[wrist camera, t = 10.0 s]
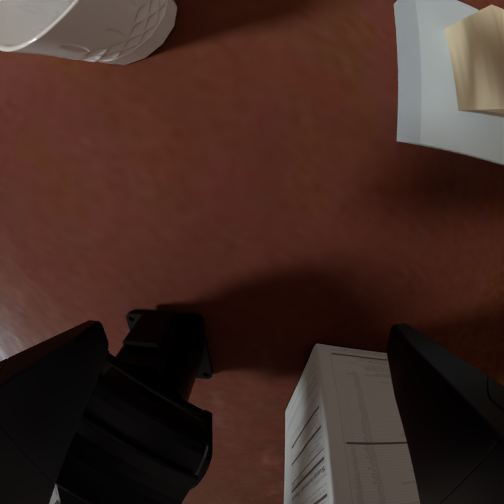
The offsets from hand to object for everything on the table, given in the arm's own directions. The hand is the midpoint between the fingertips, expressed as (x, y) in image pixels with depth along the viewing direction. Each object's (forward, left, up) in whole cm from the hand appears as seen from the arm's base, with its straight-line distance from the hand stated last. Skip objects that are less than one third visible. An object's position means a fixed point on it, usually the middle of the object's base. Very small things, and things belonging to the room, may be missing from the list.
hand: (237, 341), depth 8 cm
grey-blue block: (+10, -14, -12) cm, 21 cm away
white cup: (+15, +8, -12) cm, 21 cm away
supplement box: (-15, -7, -12) cm, 21 cm away
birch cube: (+10, -14, -8) cm, 19 cm away
